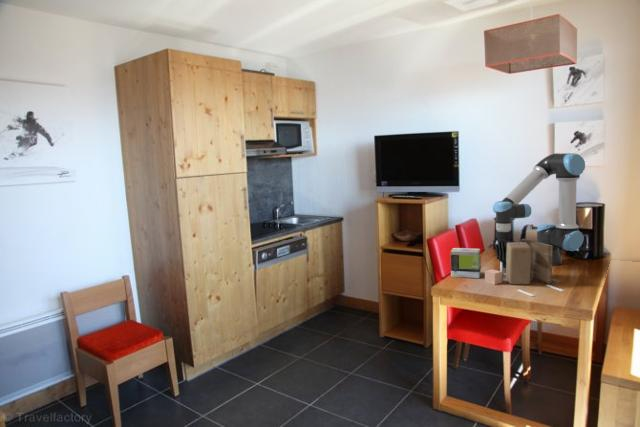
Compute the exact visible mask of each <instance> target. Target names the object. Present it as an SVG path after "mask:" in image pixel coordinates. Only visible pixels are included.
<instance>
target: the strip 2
mask: <svg viewBox="0 0 640 427" xmlns="http://www.w3.org/2000/svg"><path fill="white" fill-rule="evenodd" d="M545 287H548V288H551V289H554V290H557V291H559V292H565V290H564V289H562V288H559V287H556V286H553V285H552V284H550V285H547V284H545Z"/></svg>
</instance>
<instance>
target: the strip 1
mask: <svg viewBox="0 0 640 427" xmlns="http://www.w3.org/2000/svg"><path fill="white" fill-rule="evenodd" d="M516 291H517V292H520V293H522V294H525V295H527V296H529V297H535V294H532V293H530V292H527V291H524V290H522V289H520V288H518V289H516Z"/></svg>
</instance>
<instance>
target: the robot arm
mask: <svg viewBox="0 0 640 427" xmlns="http://www.w3.org/2000/svg"><path fill="white" fill-rule="evenodd" d="M585 168H586V162H585V159H584V157H583V156H582V155H580V154H578V153H572V152H570V153H569V152H568V153H565V152H564V153H557V152H556V153H552V154H549V155H547V156H545V157H544V158H543V159H541V160H540V161H538V162H537V163H536V164H535V165H534V166H533V168H532V171H531V172H530V173H529V174H527V176H525V178H524V179H523V180H522V181H521V182H520V183H518V185H516V187H514V188H513V189H512V191H510V193H509V194H507V195H505V197H504V198H503V199H502V200H499V201H495V202H494V204H493V205H492V211H493V212H494V214H495V230H496V231H495V238H496V241H493V245H494V248H495V255H496V260H498V261H499V271H502V275H506V255H507V243H509V242H511V241H510V239H511V238H512V232H511V231H512V220H515V219H525V218H529V217H530V216H531V215H532V207H531V206H530V204H528V203H521V202H522V201H523V200H524V199H525V198H526V197H527V196H528V195H529V194H530V193H531V192H532V191H534V189H535V188H536V187H537V186H538V185H539V184H540V183H542V181H543V180H546V179H548V178H549V177H550V176H552V175H555V179H556V180H558V220H557V221H558V223H547V224H546V223H545V224H540V225H538V226H537V228H536V229H537V230H536V242H539V243H544V244H548V245H552V246H553V247H552V266H560V265H562V264H563V259H562V257H561V253H560V249H561V250H564V251H570V252H574V251H575V252H576V251H577V250H578V249H580V247H582V245H583V243H584V239H585V237H584V234H583V233H582V232H581V231H580V227H579V225H578V224H577V181H578V180H579V179H580V178H581V176H580V175H582V174H583V173H584V171H585Z"/></svg>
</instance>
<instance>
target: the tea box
mask: <svg viewBox="0 0 640 427" xmlns="http://www.w3.org/2000/svg"><path fill="white" fill-rule="evenodd" d="M481 259H482V258H481V248H469V247H468V248H467V247H466V248H465V247H453V248H452V249H451V250H450V275H451V276H450V277H453V278H469V279H480V276H481V273H482V270H481V269H482V268H481V267H482V266H481V265H482V264H481V262H482V261H481Z"/></svg>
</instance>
